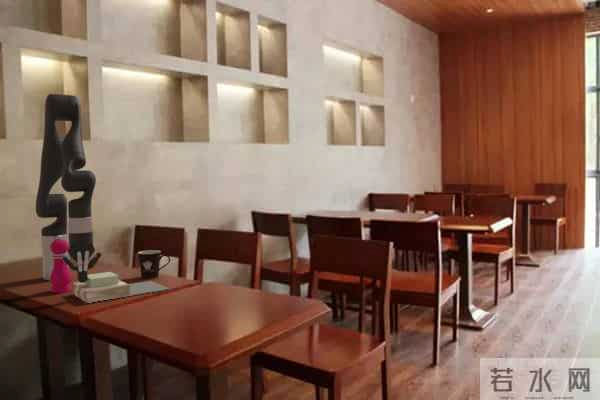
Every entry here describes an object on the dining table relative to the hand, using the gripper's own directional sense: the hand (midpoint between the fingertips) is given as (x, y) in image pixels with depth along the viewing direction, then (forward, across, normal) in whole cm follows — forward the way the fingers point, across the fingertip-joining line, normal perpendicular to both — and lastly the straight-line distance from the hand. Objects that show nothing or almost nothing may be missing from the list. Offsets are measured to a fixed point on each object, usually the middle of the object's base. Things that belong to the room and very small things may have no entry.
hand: (82, 282), depth 181 cm
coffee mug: (+6, -31, -16) cm, 35 cm away
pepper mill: (+6, +3, -16) cm, 17 cm away
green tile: (+2, -6, 0) cm, 6 cm away
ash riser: (+6, -6, 0) cm, 8 cm away
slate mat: (+6, -20, 0) cm, 21 cm away
